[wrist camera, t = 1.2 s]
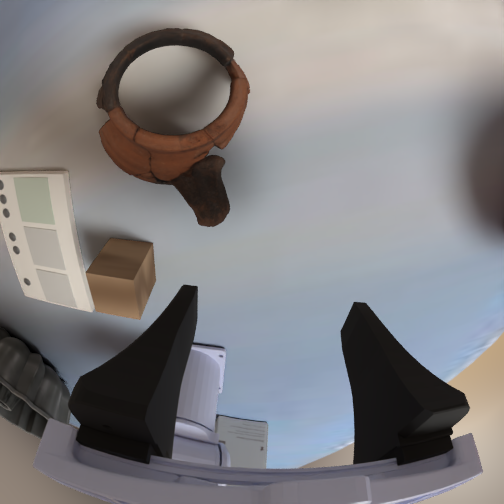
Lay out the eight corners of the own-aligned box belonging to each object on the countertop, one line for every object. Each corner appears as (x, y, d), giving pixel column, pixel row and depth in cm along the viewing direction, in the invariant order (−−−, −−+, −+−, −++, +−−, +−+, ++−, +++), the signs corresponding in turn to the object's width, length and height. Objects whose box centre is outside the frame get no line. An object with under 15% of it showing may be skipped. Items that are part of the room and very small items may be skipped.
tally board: (94, 307, 28) (91, 313, 28) (28, 291, 28) (24, 296, 27) (68, 170, 20) (62, 174, 19) (-5, 172, 20) (-11, 175, 19)
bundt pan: (-36, 276, 28) (-71, 320, 19) (99, 373, 36) (78, 432, 28) (-24, 349, 39) (-43, 382, 31) (73, 414, 48) (60, 452, 40)
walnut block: (156, 280, 26) (140, 319, 22) (116, 274, 26) (95, 311, 22) (153, 242, 24) (133, 280, 20) (110, 237, 24) (85, 272, 20)
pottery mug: (93, 114, 18) (59, 66, 10) (201, 58, 20) (218, -4, 12) (167, 249, 21) (164, 268, 13) (276, 184, 23) (329, 170, 15)
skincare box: (268, 421, 41) (268, 507, 29) (257, 434, 45) (255, 511, 32) (215, 413, 40) (207, 503, 28) (208, 427, 43) (200, 506, 31)
